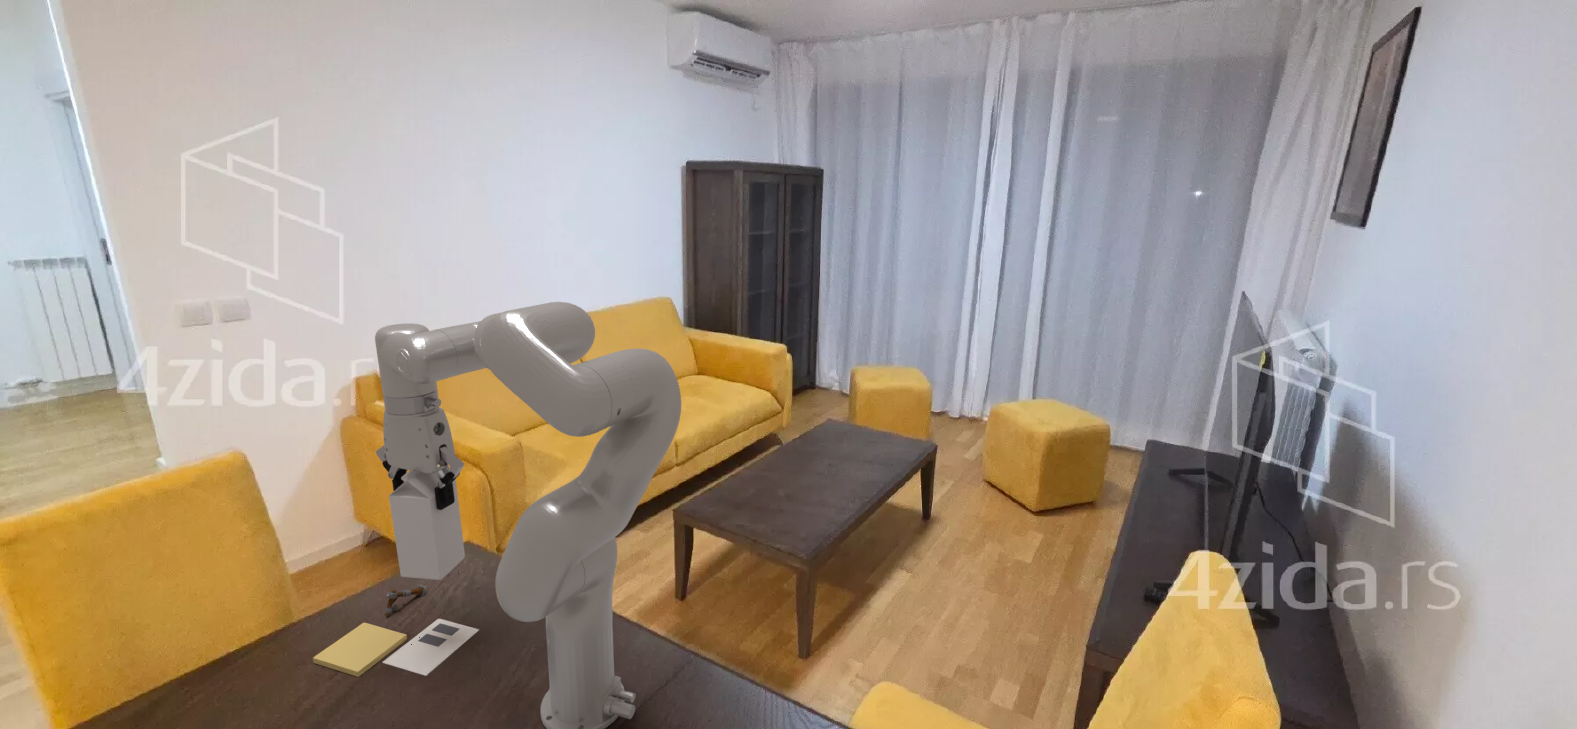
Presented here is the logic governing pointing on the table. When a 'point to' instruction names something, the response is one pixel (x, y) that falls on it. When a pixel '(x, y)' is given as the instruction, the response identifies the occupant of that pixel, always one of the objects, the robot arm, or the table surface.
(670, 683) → the table surface
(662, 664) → the table surface
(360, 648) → the coaster
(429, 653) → the tile
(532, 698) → the table surface
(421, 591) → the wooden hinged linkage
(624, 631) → the table surface
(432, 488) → the milk carton
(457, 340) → the robot arm
